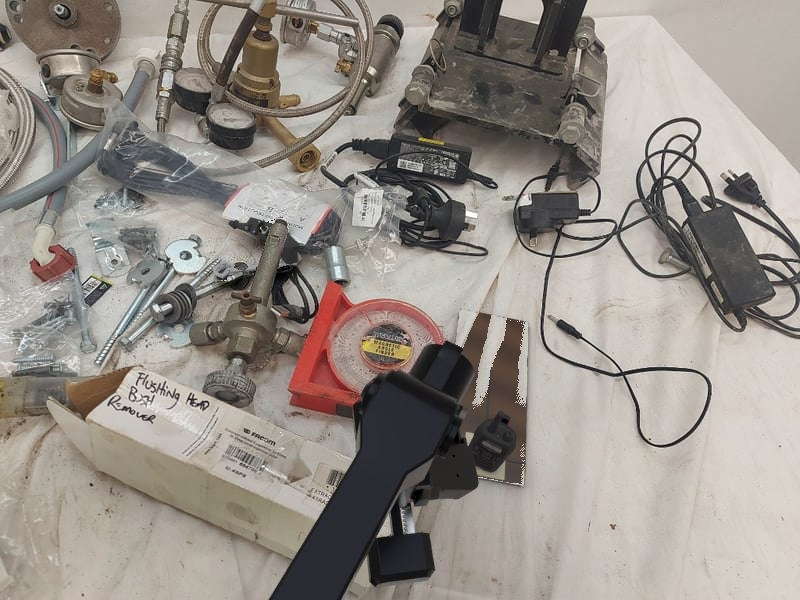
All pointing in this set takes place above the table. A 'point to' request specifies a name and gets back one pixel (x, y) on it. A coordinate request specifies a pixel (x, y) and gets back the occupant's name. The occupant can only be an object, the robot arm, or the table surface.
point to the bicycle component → (253, 227)
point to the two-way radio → (493, 442)
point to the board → (497, 393)
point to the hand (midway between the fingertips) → (382, 507)
